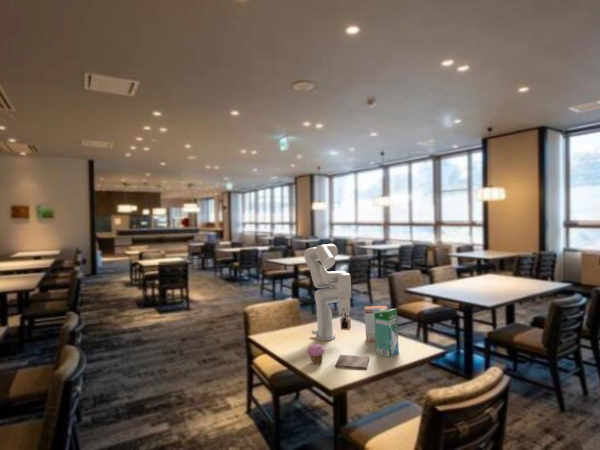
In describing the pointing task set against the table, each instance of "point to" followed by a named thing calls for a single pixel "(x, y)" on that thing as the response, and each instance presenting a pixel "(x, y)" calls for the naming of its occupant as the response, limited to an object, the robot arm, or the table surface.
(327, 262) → the robot arm
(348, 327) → the terracotta block
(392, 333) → the milk carton
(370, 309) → the cracker box
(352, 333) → the table surface
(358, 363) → the serving board
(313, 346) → the cupcake
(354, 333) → the table surface
